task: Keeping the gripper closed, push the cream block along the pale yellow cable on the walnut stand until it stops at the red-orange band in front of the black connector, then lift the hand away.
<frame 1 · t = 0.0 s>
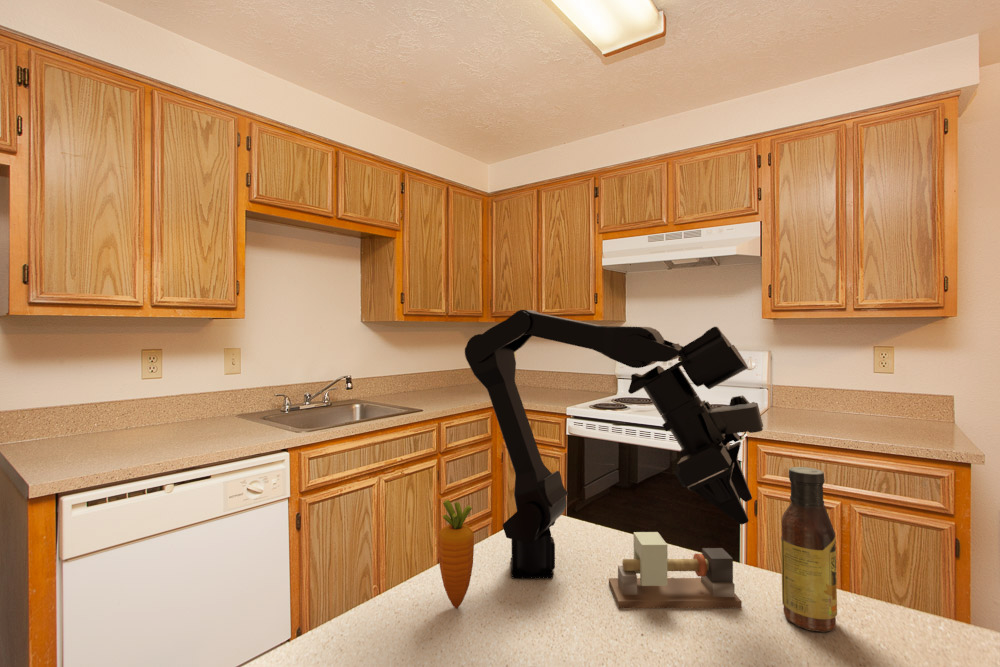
hand: (747, 510, 65), 15 cm above the countertop, tool tilted 35°, fingers open, 9 cm apart
sauce bottle: (808, 621, 67), on the countertop
carrot: (456, 609, 70), on the countertop
cream block: (650, 558, 73), point 5 cm above the countertop, slide at 0.0 cm
cable stand: (672, 595, 73), on the countertop
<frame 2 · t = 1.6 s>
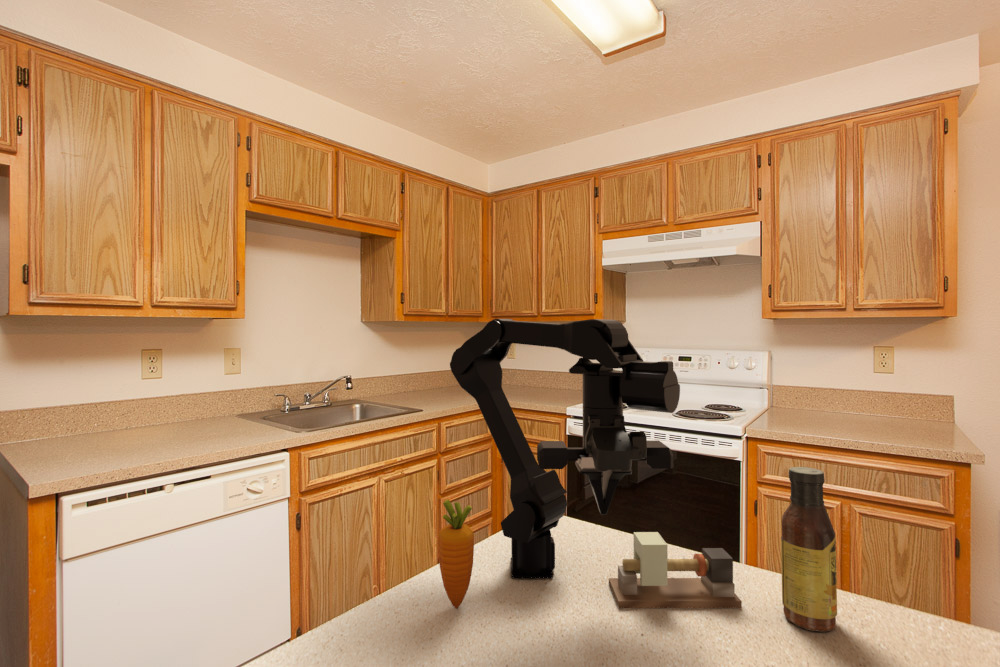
hand: (603, 513, 73), 12 cm above the countertop, tool pointing down, fingers closed
nothing on the countertop moved.
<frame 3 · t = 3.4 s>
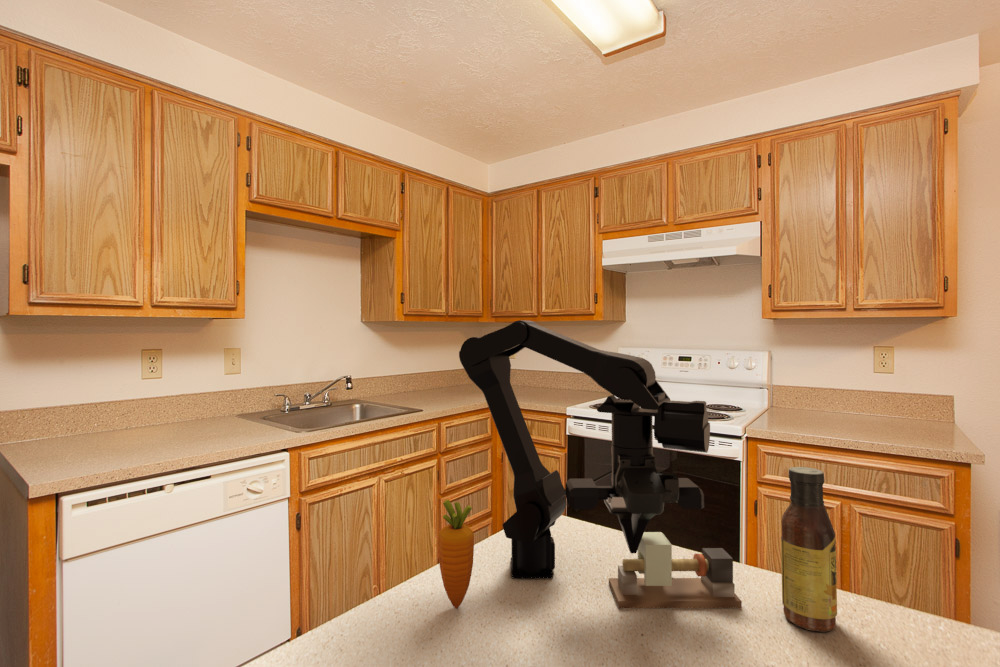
hand: (632, 552, 72), 6 cm above the countertop, tool pointing down, fingers closed
cream block: (654, 558, 73), point 5 cm above the countertop, slide at 0.6 cm, touching gripper
everything else where it was.
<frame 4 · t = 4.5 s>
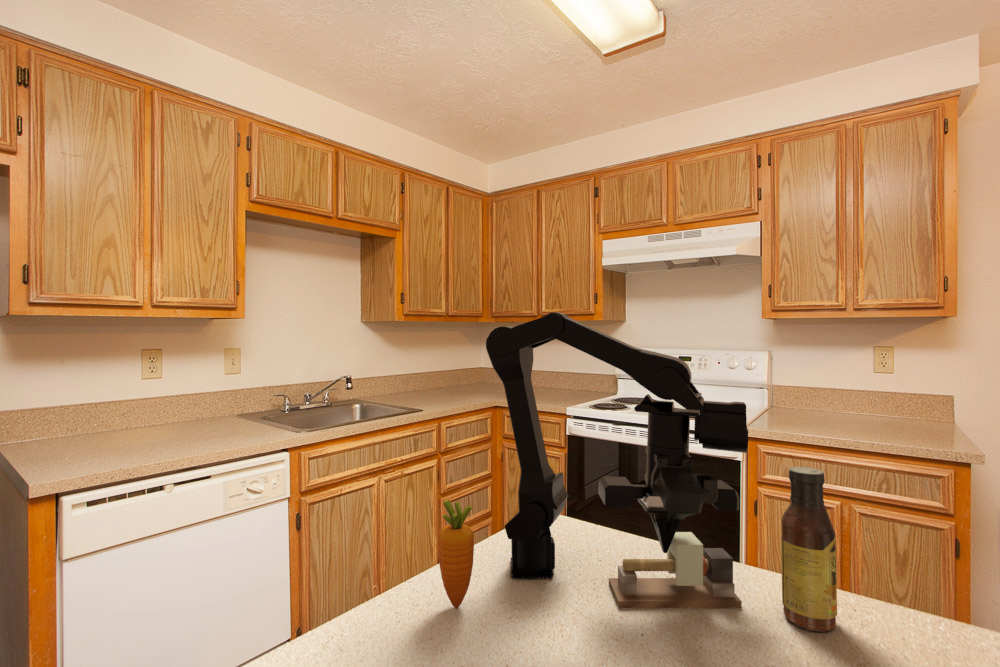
hand: (664, 552, 72), 6 cm above the countertop, tool pointing down, fingers closed
cream block: (684, 558, 73), point 5 cm above the countertop, slide at 5.0 cm, touching cable stand, gripper
everything else where it was.
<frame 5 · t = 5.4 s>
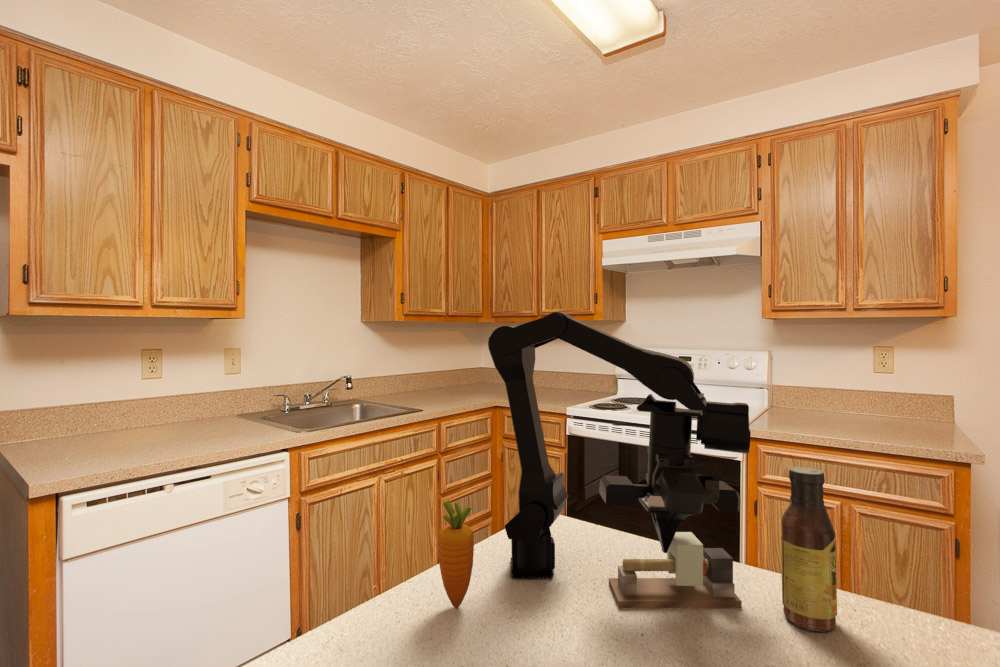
hand: (664, 552, 72), 6 cm above the countertop, tool pointing down, fingers closed
nothing on the countertop moved.
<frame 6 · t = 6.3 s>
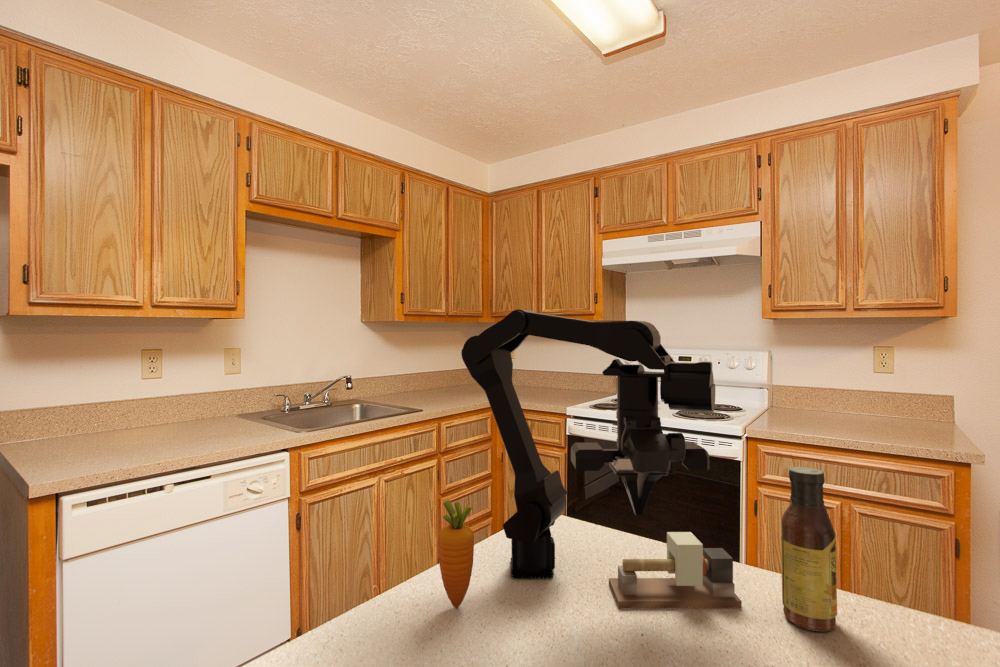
hand: (638, 515, 72), 12 cm above the countertop, tool pointing down, fingers closed
cream block: (684, 558, 73), point 5 cm above the countertop, slide at 5.0 cm
everything else where it was.
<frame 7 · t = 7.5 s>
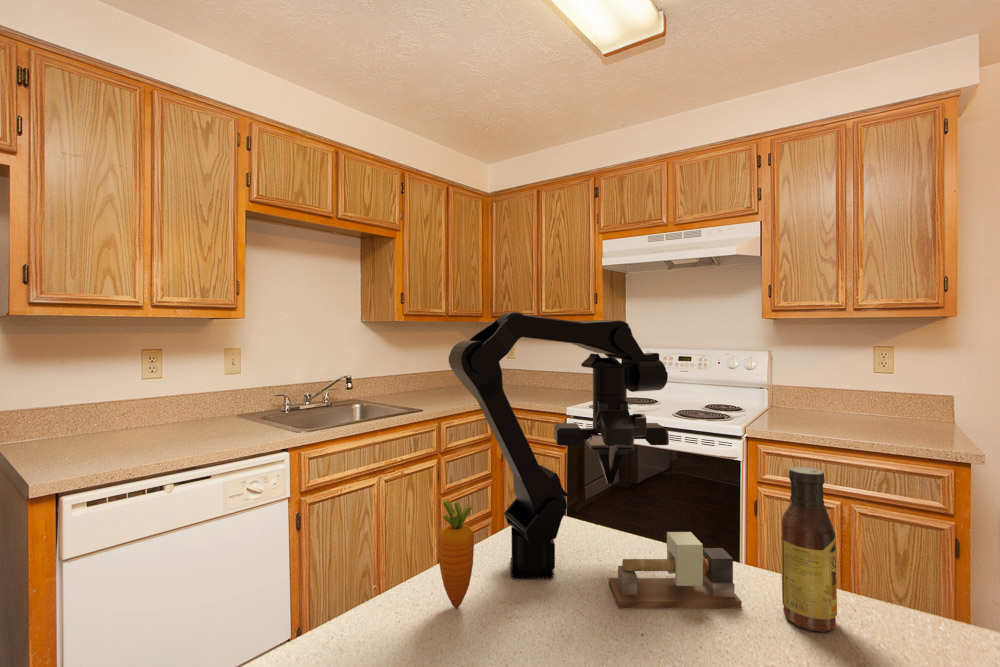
hand: (609, 483, 87), 12 cm above the countertop, tool pointing down, fingers closed
nothing on the countertop moved.
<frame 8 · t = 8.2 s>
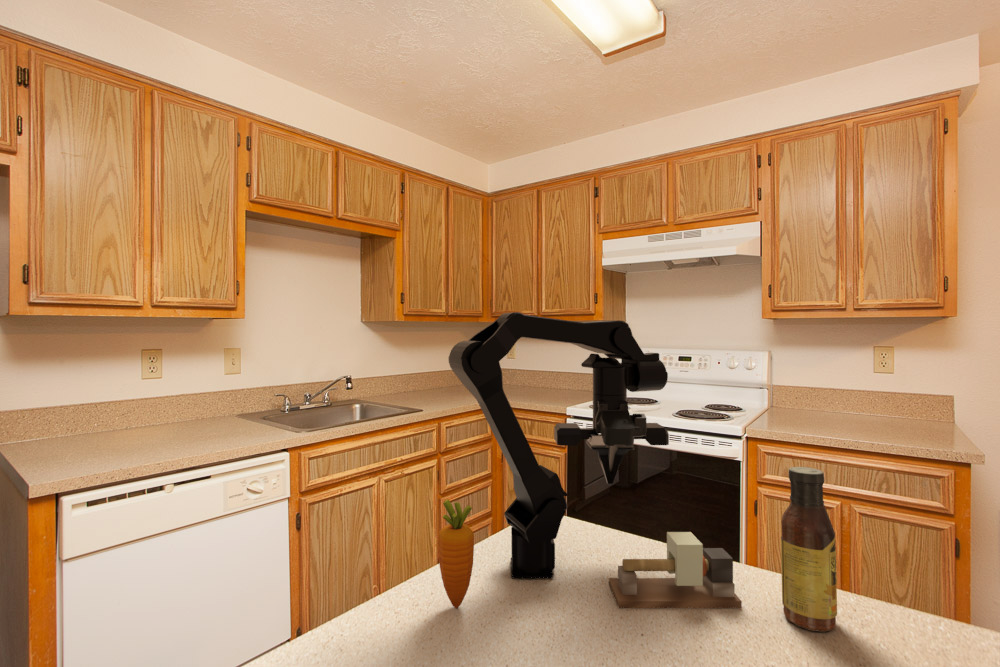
hand: (609, 483, 87), 12 cm above the countertop, tool pointing down, fingers closed
nothing on the countertop moved.
at the end: cream block slide at 5.0 cm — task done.
